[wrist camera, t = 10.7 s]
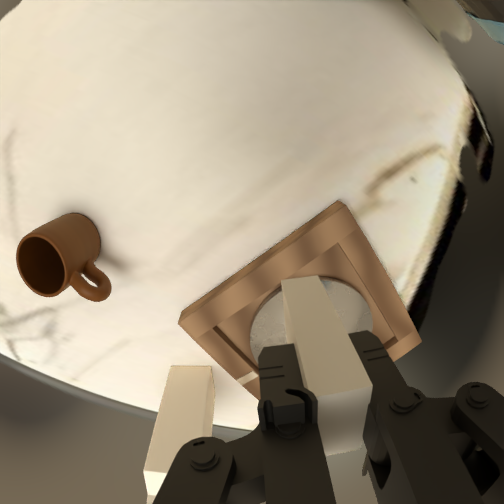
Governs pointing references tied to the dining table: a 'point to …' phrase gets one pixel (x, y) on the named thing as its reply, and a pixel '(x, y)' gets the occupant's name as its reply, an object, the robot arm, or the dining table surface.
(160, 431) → the milk
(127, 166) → the dining table surface
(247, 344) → the board
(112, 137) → the dining table surface
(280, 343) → the dial
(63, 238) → the mug
